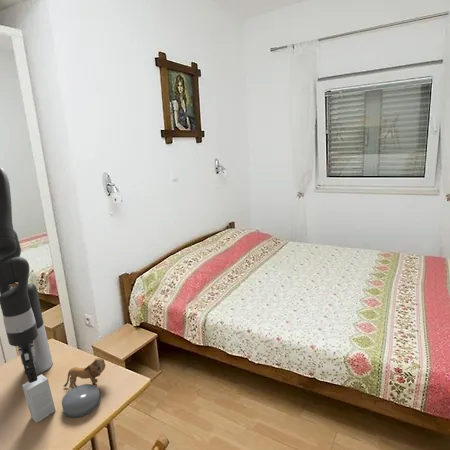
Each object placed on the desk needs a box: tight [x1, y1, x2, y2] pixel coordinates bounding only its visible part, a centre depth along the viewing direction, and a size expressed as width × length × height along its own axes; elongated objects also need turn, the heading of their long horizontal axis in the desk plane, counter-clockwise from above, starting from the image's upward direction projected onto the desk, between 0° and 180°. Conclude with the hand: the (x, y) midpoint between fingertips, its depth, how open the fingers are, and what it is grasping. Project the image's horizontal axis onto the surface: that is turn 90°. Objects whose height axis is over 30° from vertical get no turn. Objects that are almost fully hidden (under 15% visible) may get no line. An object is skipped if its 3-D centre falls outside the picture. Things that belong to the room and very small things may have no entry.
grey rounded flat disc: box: [61, 383, 101, 419], centre depth 110 cm, size 11×11×3 cm
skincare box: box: [21, 373, 56, 424], centre depth 106 cm, size 6×4×12 cm
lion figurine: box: [63, 357, 106, 388], centre depth 118 cm, size 15×5×9 cm, turn 102°
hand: (32, 373), depth 103 cm, fingers open, 8 cm apart
